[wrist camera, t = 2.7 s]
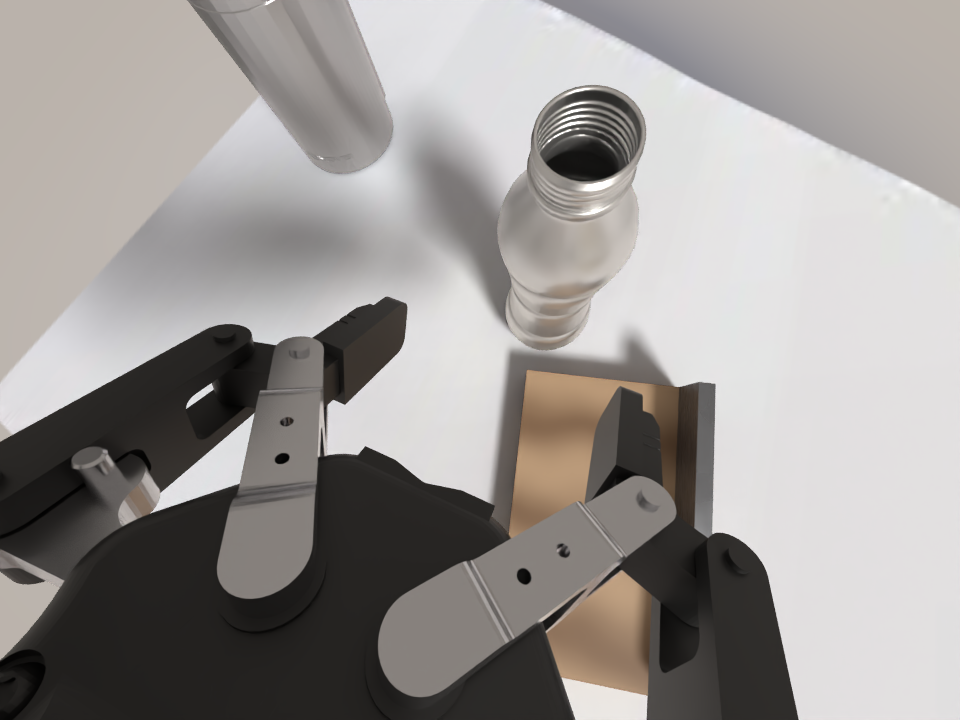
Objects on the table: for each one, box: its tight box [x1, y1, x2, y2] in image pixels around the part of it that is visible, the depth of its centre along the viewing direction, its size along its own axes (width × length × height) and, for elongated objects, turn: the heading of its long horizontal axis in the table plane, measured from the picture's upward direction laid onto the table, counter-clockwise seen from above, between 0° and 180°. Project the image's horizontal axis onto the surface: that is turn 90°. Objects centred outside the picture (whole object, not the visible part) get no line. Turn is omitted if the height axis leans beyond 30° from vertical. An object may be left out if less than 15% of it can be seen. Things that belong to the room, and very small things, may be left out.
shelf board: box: [509, 370, 679, 696], centre depth 27 cm, size 20×12×2 cm, turn 173°
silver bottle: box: [497, 85, 646, 351], centre depth 21 cm, size 6×7×20 cm
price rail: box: [675, 382, 715, 538], centre depth 23 cm, size 20×2×3 cm, turn 173°
